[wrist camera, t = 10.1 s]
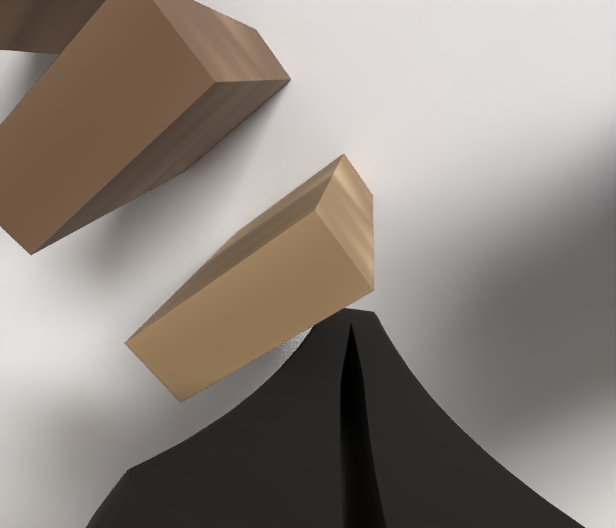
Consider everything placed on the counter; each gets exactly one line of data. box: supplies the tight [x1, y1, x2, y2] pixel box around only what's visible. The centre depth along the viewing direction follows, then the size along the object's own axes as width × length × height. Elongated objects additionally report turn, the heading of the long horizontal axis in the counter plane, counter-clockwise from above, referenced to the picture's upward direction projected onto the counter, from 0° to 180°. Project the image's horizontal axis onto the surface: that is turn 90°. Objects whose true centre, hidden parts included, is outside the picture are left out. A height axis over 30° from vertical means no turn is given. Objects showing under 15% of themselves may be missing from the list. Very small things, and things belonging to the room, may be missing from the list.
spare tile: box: [125, 154, 374, 402], centre depth 10 cm, size 2×4×7 cm, turn 127°
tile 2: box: [0, 0, 291, 255], centre depth 9 cm, size 2×4×7 cm, turn 128°
